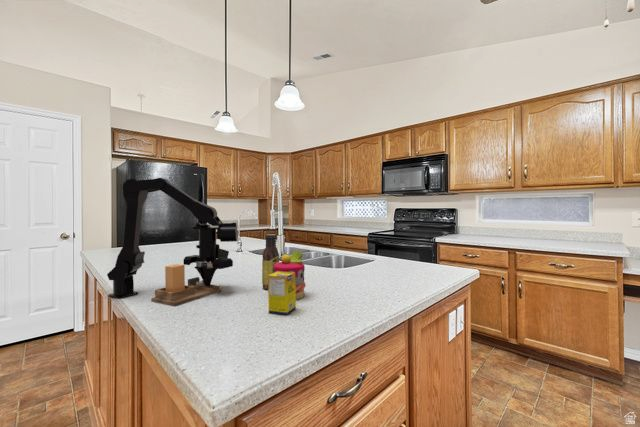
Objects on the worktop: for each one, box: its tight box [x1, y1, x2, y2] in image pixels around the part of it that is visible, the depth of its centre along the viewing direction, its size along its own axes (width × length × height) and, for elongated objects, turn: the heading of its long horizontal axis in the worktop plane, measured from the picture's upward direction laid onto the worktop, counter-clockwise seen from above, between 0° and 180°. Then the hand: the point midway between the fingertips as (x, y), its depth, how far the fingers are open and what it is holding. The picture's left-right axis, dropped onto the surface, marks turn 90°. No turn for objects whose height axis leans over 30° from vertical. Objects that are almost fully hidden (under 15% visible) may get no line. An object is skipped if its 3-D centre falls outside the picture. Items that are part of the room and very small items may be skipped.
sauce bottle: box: [261, 233, 280, 290], centre depth 112 cm, size 7×6×20 cm
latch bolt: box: [196, 279, 209, 288], centre depth 109 cm, size 4×2×3 cm, turn 63°
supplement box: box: [267, 271, 297, 316], centre depth 87 cm, size 6×6×11 cm
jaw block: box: [164, 263, 186, 292], centre depth 99 cm, size 4×4×10 cm
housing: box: [150, 276, 222, 307], centre depth 103 cm, size 12×18×4 cm, turn 153°
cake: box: [274, 250, 306, 301], centre depth 101 cm, size 10×11×15 cm
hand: (208, 285), depth 107 cm, fingers closed
